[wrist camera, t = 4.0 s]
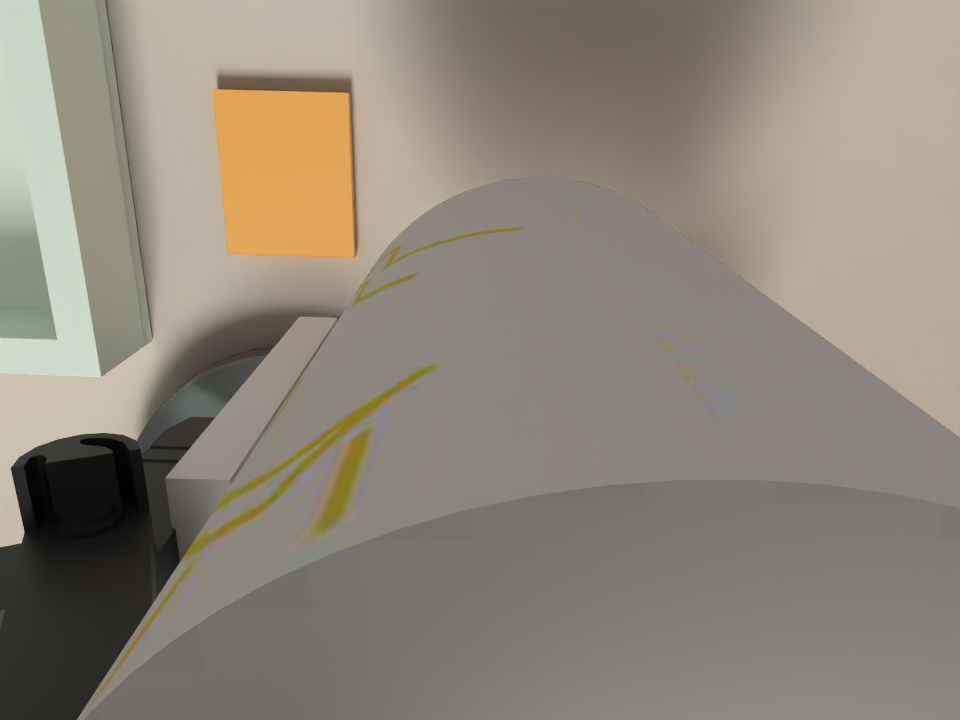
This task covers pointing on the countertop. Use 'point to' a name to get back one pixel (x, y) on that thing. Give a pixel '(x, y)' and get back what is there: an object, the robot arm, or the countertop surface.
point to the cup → (567, 501)
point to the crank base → (203, 394)
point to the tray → (65, 196)
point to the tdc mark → (286, 172)
